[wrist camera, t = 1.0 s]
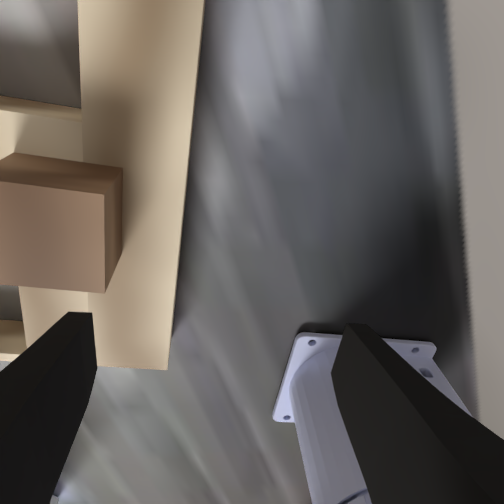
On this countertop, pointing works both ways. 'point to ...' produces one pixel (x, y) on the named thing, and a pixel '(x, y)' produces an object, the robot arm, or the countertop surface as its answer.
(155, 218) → the trap board
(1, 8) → the countertop surface
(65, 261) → the walnut block
